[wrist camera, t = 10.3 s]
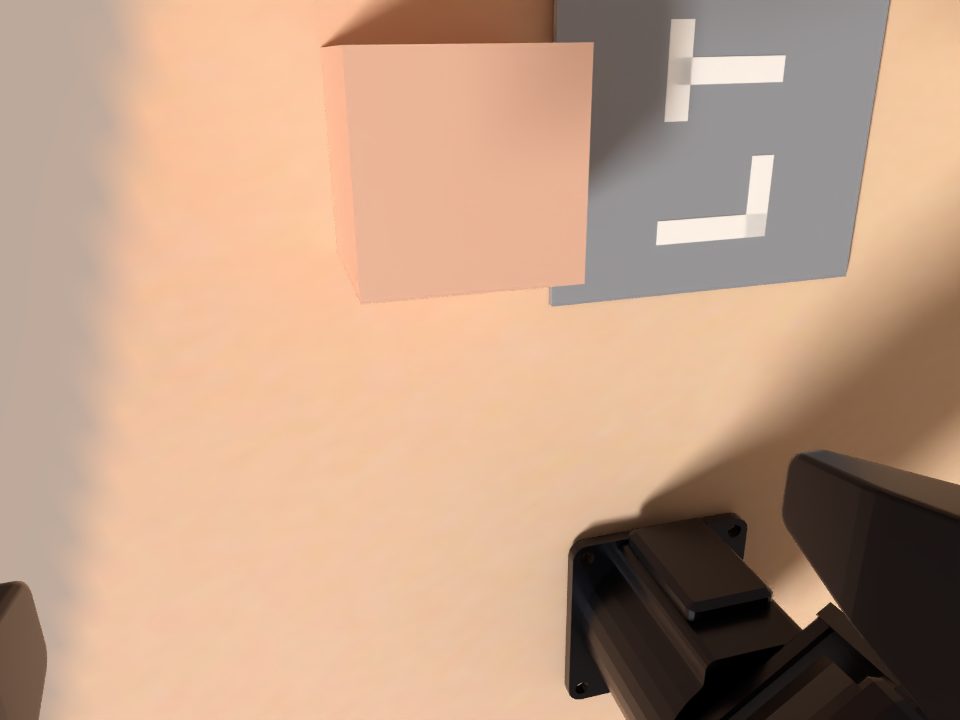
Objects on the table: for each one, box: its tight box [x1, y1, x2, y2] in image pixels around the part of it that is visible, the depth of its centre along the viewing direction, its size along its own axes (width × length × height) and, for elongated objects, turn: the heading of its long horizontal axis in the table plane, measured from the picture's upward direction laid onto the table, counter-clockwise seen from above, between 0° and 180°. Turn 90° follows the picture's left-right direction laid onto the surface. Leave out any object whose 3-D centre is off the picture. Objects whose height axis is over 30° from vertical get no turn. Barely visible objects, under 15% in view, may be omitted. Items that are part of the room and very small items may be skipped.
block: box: [320, 42, 594, 304], centre depth 18 cm, size 5×5×5 cm
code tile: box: [549, 0, 890, 306], centre depth 22 cm, size 9×10×1 cm
